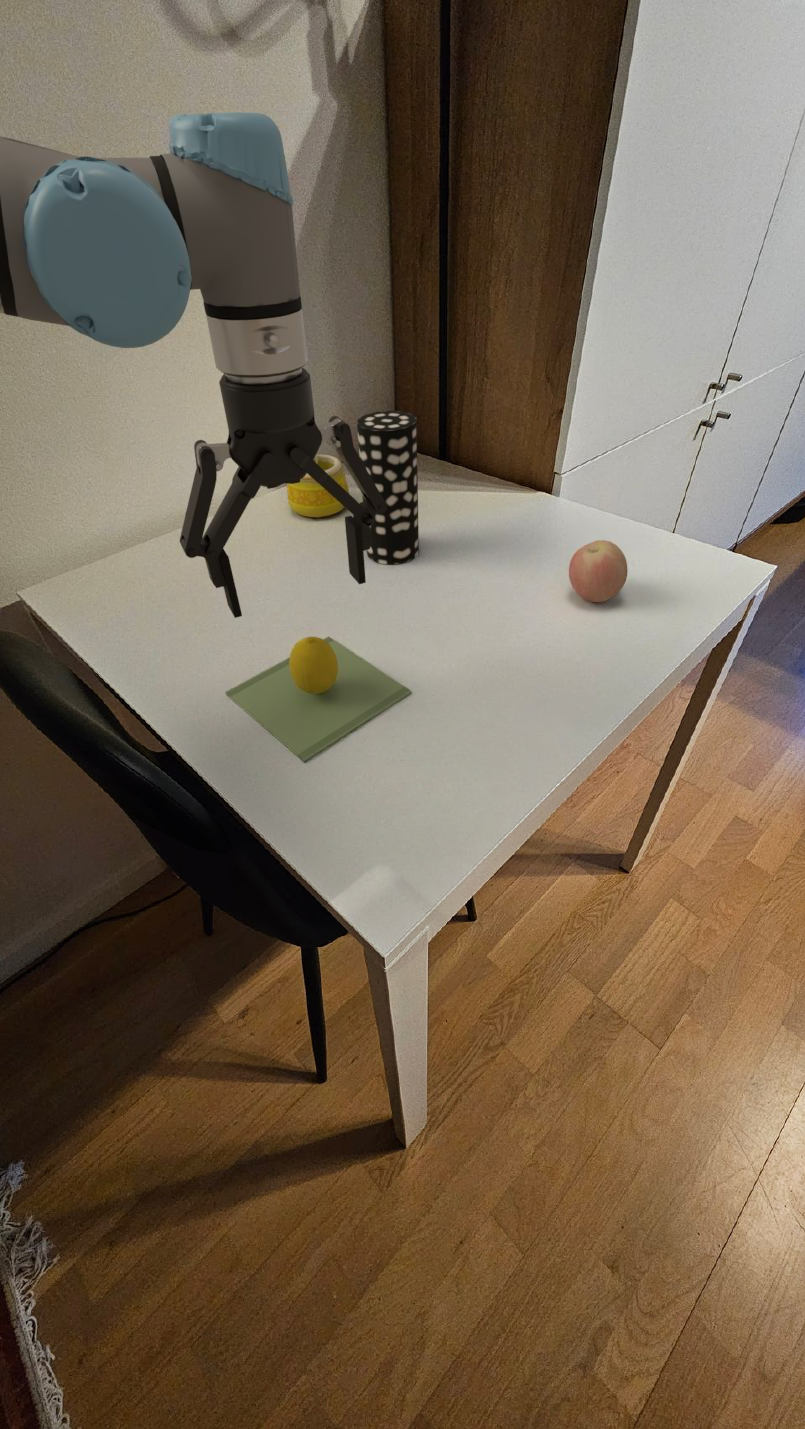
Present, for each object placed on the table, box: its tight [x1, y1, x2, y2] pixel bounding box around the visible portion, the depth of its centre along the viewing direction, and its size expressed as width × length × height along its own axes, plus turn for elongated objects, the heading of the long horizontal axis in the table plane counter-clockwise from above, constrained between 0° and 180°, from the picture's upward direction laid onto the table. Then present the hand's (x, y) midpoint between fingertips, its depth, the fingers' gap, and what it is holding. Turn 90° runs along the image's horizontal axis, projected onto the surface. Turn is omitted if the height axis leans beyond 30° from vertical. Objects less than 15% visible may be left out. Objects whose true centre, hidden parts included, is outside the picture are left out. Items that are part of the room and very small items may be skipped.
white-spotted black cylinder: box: [356, 410, 420, 565], centre depth 94 cm, size 8×8×20 cm
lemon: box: [289, 636, 338, 694], centre depth 73 cm, size 6×6×8 cm
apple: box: [568, 539, 629, 603], centre depth 87 cm, size 8×8×8 cm
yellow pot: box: [286, 453, 350, 518], centre depth 110 cm, size 13×11×12 cm
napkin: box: [224, 636, 412, 763], centre depth 76 cm, size 16×16×1 cm
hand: (298, 594), depth 66 cm, fingers open, 13 cm apart
